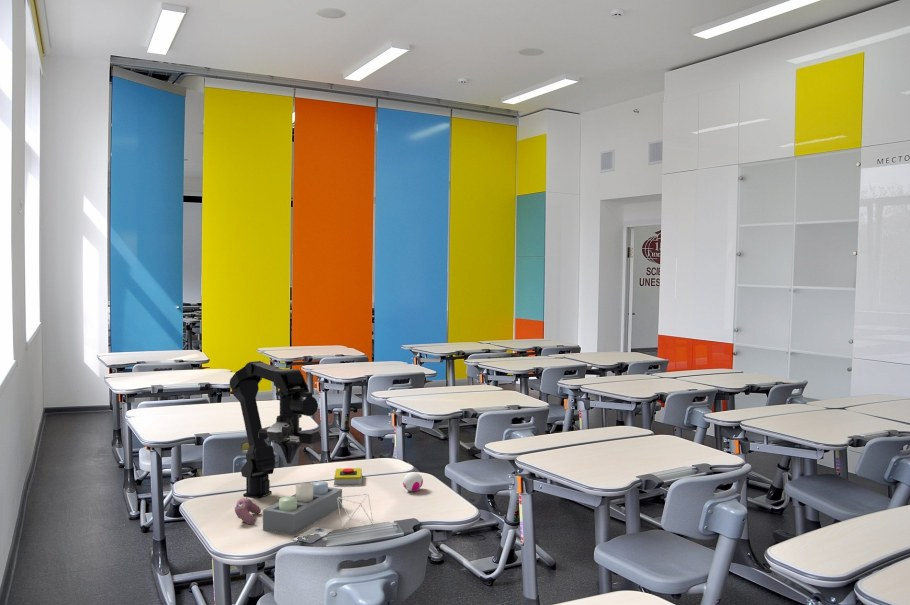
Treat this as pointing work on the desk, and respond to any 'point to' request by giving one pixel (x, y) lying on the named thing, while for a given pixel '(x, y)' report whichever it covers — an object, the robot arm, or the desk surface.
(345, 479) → the emergency button
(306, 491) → the ivory button
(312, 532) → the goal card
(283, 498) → the sage button
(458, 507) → the desk surface
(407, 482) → the stress ball
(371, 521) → the geometric polyhedron
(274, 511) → the grey compartment tray
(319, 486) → the slate-blue button
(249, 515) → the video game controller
